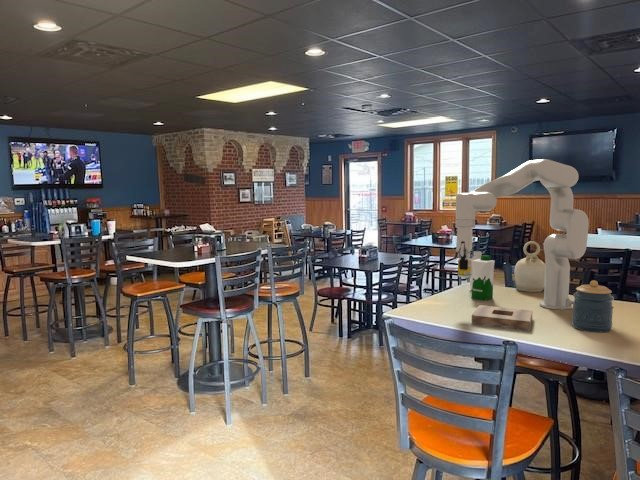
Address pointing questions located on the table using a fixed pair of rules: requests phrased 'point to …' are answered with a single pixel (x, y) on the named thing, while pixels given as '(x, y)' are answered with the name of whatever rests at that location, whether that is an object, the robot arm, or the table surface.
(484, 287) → the milk carton
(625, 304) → the table surface
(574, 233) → the robot arm
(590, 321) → the canister
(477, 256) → the plastic bottle
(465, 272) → the supplement bottle
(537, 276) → the jug
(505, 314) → the socket block
